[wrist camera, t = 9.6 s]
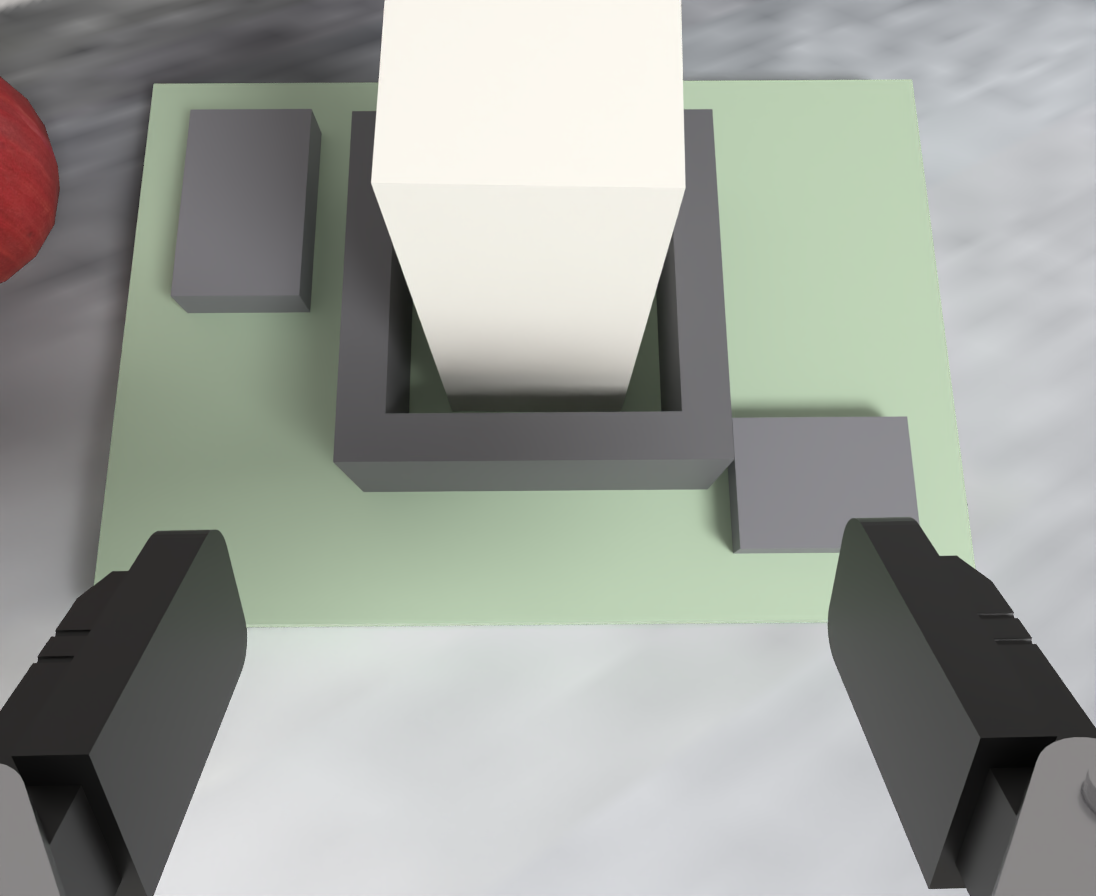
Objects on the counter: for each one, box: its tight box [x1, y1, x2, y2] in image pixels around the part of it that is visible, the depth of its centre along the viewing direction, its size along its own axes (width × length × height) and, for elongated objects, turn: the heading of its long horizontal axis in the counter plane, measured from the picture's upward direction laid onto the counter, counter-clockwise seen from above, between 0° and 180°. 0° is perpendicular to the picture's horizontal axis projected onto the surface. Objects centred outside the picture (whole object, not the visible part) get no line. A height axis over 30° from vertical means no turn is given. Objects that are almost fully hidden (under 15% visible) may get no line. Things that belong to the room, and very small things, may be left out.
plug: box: [371, 0, 686, 412], centre depth 17 cm, size 4×5×10 cm
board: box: [94, 80, 975, 627], centre depth 20 cm, size 20×14×4 cm
